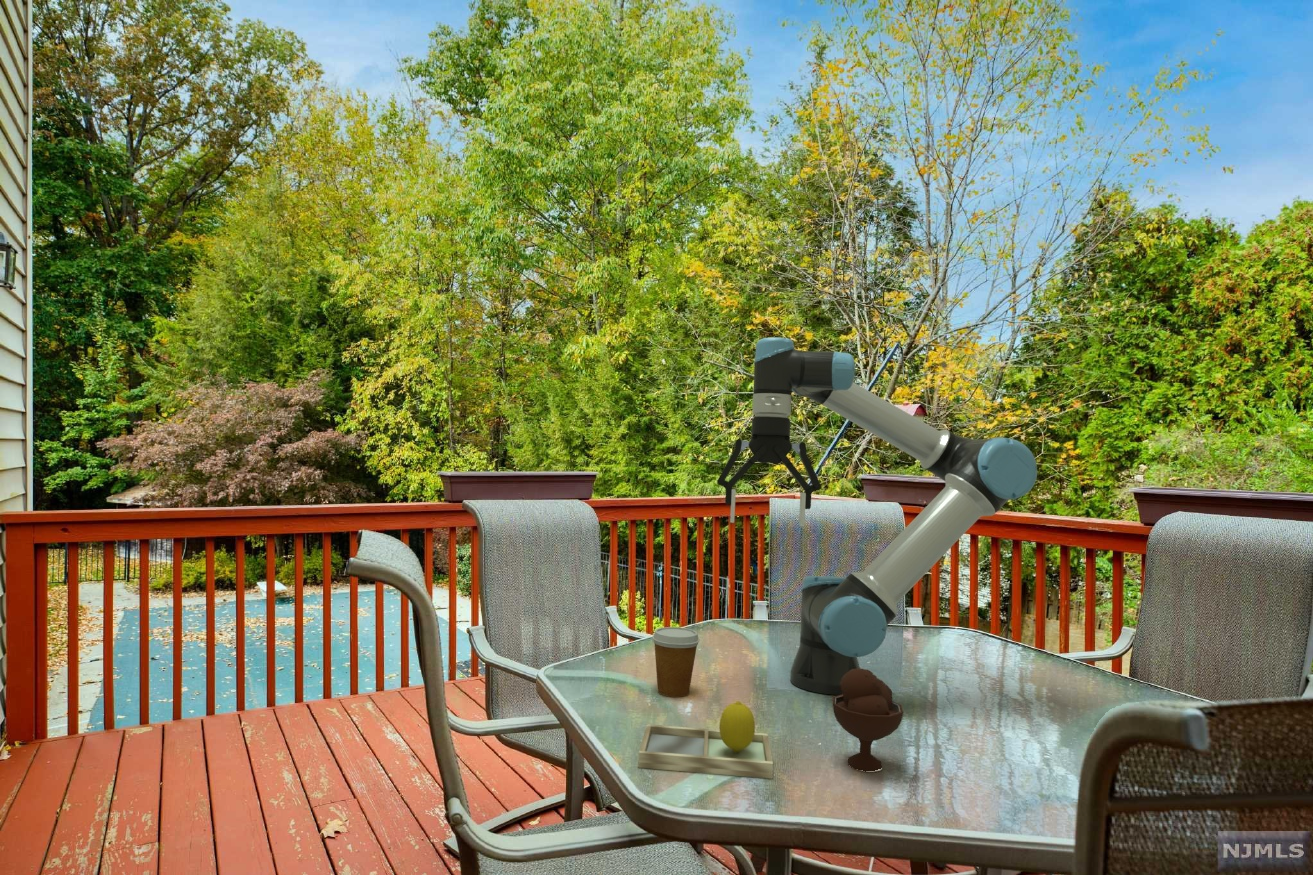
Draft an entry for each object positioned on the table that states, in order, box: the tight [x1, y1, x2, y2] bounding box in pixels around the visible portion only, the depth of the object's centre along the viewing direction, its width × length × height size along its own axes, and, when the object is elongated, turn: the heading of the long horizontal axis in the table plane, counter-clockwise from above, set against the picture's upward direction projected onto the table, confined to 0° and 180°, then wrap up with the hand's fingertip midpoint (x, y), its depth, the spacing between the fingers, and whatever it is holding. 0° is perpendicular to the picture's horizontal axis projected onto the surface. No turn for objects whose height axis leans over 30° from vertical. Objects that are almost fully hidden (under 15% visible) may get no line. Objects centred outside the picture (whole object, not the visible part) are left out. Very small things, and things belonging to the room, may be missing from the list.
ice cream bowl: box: [832, 667, 904, 773], centre depth 115 cm, size 11×11×15 cm
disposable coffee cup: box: [651, 626, 701, 698], centre depth 147 cm, size 10×10×12 cm
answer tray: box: [637, 724, 774, 779], centre depth 115 cm, size 20×12×2 cm, turn 85°
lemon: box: [718, 700, 756, 753], centre depth 115 cm, size 6×6×8 cm
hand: (766, 524), depth 144 cm, fingers open, 13 cm apart
